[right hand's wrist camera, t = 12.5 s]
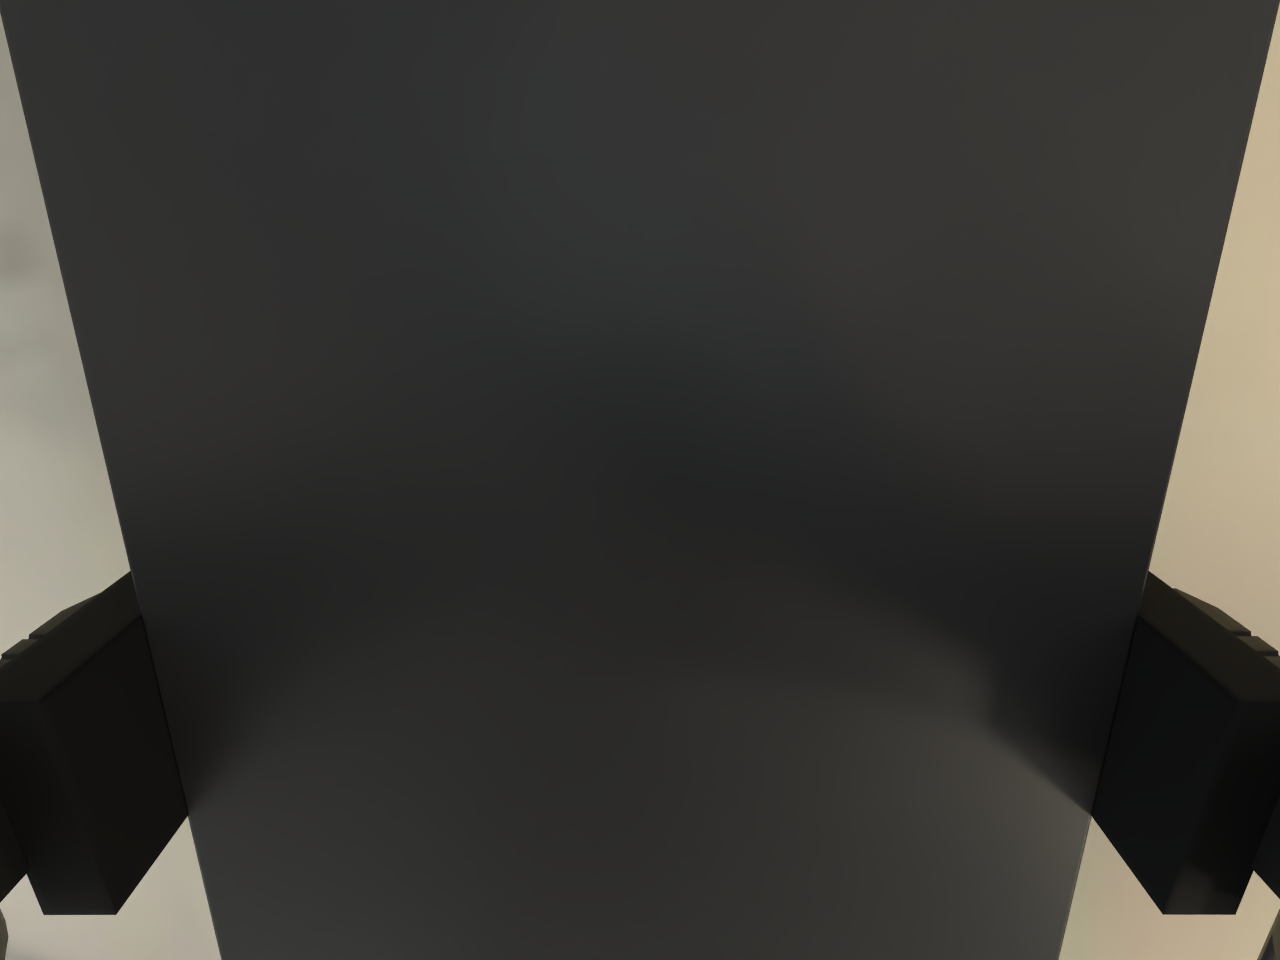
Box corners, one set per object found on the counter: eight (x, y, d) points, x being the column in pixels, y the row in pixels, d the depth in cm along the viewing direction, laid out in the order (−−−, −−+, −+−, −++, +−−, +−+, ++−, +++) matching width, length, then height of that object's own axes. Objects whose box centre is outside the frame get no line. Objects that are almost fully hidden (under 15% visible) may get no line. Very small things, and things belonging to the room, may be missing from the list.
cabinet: (312, -158, 12) (-188, -771, 5) (965, -158, 12) (1464, -775, 5) (408, 687, 17) (232, 1021, 10) (872, 686, 17) (1047, 1020, 10)
